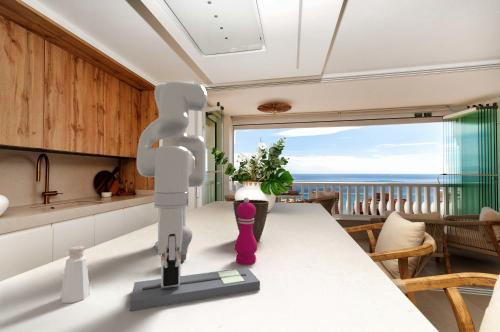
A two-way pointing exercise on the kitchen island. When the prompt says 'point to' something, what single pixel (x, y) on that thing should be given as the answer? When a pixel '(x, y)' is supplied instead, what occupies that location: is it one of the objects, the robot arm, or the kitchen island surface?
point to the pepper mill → (246, 234)
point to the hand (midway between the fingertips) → (170, 279)
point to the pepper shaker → (75, 277)
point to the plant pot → (255, 216)
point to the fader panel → (193, 288)
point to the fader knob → (164, 266)
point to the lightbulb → (185, 242)
